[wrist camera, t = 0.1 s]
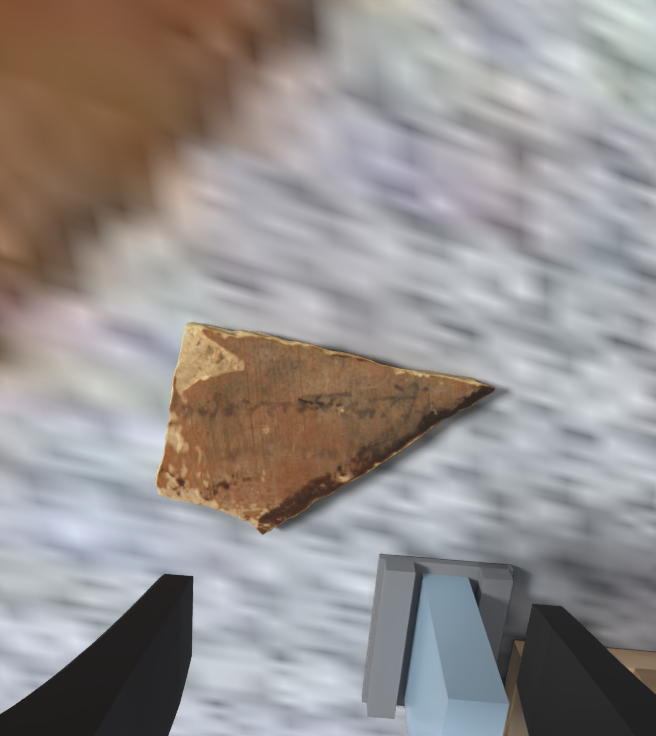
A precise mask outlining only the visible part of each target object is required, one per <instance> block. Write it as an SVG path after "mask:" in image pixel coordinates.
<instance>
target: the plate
mask: <svg viewBox="0 0 656 736" xmlns="http://www.w3.org/2000/svg"><path fill="white" fill-rule="evenodd" d="M404 702H405V710H406V718H407V726H408V734H409V736H503V731H504V727H505V722H506V717H507V713H508V708H509V702H508V698H507V695H506V692H505V689H504V686H503V683H502V680H501V677H500V674H499V671H498V668H497V665H496V662H495V658H494V655H493V652H492V649H491V646H490V643H489V640H488V637H487V634H486V631H485V628H484V625H483V622H482V619H481V615H480V612H479V609H478V606H477V603H476V600H475V597H474V594H473V591H472V588H471V585H470V582H469V579H468V577H459V576H447V575H435V574H423V573H422V577H421V584H420V591H419V597H418V604H417V611H416V618H415V624H414V631H413V638H412V644H411V651H410V658H409V664H408V671H407V678H406V685H405V691H404Z"/></svg>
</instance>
